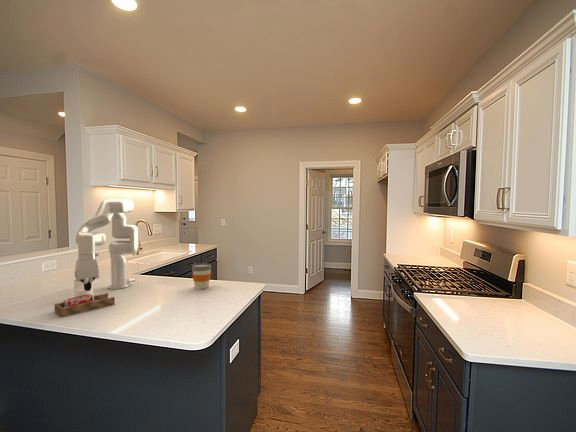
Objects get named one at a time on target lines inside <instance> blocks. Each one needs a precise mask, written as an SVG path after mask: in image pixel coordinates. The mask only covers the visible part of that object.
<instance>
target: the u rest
mask: <svg viewBox="0 0 576 432" xmlns="http://www.w3.org/2000/svg"><path fill="white" fill-rule="evenodd" d="M93 297H94V301H92V302H87V303H82V304H78V305H73V306H69V307H64V301H62V302H57V303H54V312H55V313H56V315H58V316H59V317H60V318H62V317H63V318H64V317H67V316H70V315H71V316H72V315H75V314H80V313H83V312H88V311H93V310H96V309H101V308H104V307H109V306H114V305H115V304H116V303H115V301H116V299H115V296H110V297H109V293H108V292H105V293H101V294H97V295H96V294H95V295H93Z"/></svg>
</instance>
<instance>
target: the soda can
mask: <svg viewBox="0 0 576 432" xmlns="http://www.w3.org/2000/svg"><path fill="white" fill-rule="evenodd" d="M93 296H94V294H93V295H91V294H86V295H82V296H77V297H70V298H67V299H66V300H63V302H64V307H69V306H73V305H78V304H82V303H87V302H92V301H94V297H93Z"/></svg>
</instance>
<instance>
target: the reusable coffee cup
mask: <svg viewBox="0 0 576 432" xmlns="http://www.w3.org/2000/svg"><path fill="white" fill-rule="evenodd" d="M191 266H192V268H191V271H192V280H193V283H194V288H195V289H196V288H198V289H197V290H204V289H207V287H208V288H209V286H210V280H211V275H212V273H211V270H212V264H210V263H196V264H193V265H191ZM203 288H204V289H203Z"/></svg>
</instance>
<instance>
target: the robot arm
mask: <svg viewBox="0 0 576 432" xmlns="http://www.w3.org/2000/svg"><path fill="white" fill-rule="evenodd" d="M134 208H135V204H134V201H133V200H132V199H128V198H127V199H123V198H121V199H120V198H119V199H118V198H116V199H115V198H114V199H105V200H103V201H101V202H100V204H99V205H98V208H97V211H96V213H95V215H94V217H92V218H90V219H89V220H87V221H86V222H85V223H83V224H82V225H81V226H80V227H79V228H78V231H77V233H76V235H75V243H76V245H77V249H78V250H77V251H78V252H77V253H78V254H77V257H78V258H77V260H76V261H75V267H74V279H75V281H77V282H83V283H84V290H86V291H90V289H91V283H92V282H93V283H94V281H95V280H98V278H100V269H99V268H100V267H99V261H98V258H97V257H98V256H99V253H97V252H96V246H98V247H99V246H102V245H105V243H106V242H107V239H108V238H107V235H106V234H105V233H104V232H100V231H99V232H98V231H97V232H95V231H94V230H96V229H100V228H103V227H106V226H107V225H109V224H111V236H112V238H113V239H117V240H114V241H112V242H110V243H109V245H108V251H109V255H110V277H111V278H110V281H111V283H110V285H108V289H109V290H120V289H125V288H127V287H130V286H131V283H134V282H136V279H135V278H128V259H127V257H126V256H125V255H127V256H128V255H135V254H137V253H138V251H139V229H138V226H137V225H136V224H127V216H126V215H125V214H126V213H131V212H132V211H134ZM93 231H94V232H93ZM123 239H124V240H123ZM126 239H128V240H126ZM86 278H89V279H88V283H87V280H86Z"/></svg>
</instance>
